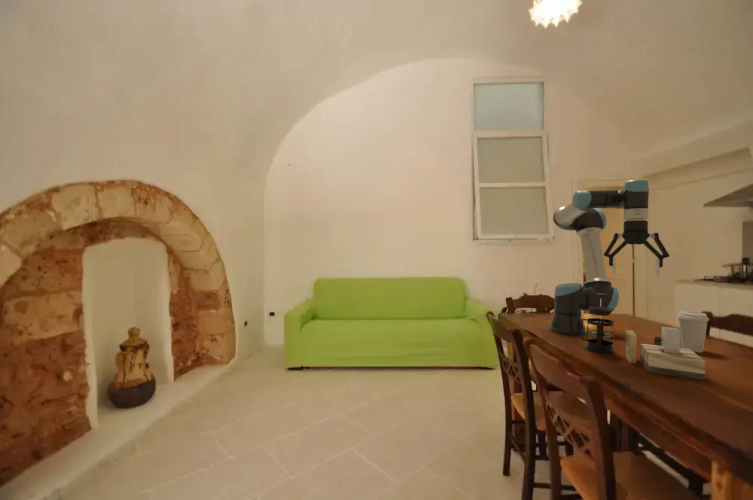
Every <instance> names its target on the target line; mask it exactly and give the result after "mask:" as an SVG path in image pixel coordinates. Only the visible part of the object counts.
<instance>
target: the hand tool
mask: <svg viewBox="0 0 753 500" xmlns="http://www.w3.org/2000/svg"><path fill="white" fill-rule="evenodd" d="M653 341H654V345H656V346H661V341H662V337H660V336H654V340H653Z"/></svg>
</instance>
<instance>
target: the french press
mask: <svg viewBox="0 0 753 500" xmlns="http://www.w3.org/2000/svg"><path fill="white" fill-rule="evenodd" d="M595 294H596V295H599V298H600V307H597V306H596V307H588V309H589V311H588V314H590V315H595V316H599V318H598V317H590V318H582V335H581V341H583V342H586V350H587V351H591V352H594V353H597V354H605V355H606V354H607V355H609V354H614V352H615V350H614V344H615V343H614V339H615V338H614V335H615V332H614V331H615V329H614V328H615V326H614V325H615V321H613V320H612V319H606V318H602V316H603V317H604V316H605V317H607V316H610V315H611V314H612V313H613V312H614V311H615V309H611V308H606V307H601V298H602V295H607V294H604V293H595ZM584 321H585V322H586V321H587V322H586V323H587V328H586V331H587V332H586V333H587V334H586V335H587V336H586V339H585V338H584V334H583V323H584ZM589 325H593V326H596V331H589ZM605 327H612V333H607V332H604V329H605ZM589 336H591V337H594V338H589ZM605 339H612V341H609V340H605Z"/></svg>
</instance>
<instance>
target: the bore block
mask: <svg viewBox="0 0 753 500" xmlns="http://www.w3.org/2000/svg"><path fill="white" fill-rule="evenodd" d="M639 356H640V361H641V363H642V364H643V366H644V367H645V369H646V371H648V373H652V374H658V375H659V374H660V375H666V376H672V377H680V378H687V379H694V380H700V381H706V360H705V359H703V358H702V357H700V356H699V355H698V354H697V352H693V351H692V350H691V349H683V348H681V347H680V355H676V354H668V353H662V352H661V346H656V345H655V344H647V343H646V344H645V343H640V355H639Z"/></svg>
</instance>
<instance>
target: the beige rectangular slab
mask: <svg viewBox="0 0 753 500" xmlns="http://www.w3.org/2000/svg"><path fill="white" fill-rule="evenodd" d="M637 341H638V335H637V334H636V333H635V332H634V330H628V329H626V330H625V357H626V359H627V360H628V362H629V363H631V364H637V351H638V350H637V347H638V342H637Z"/></svg>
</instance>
